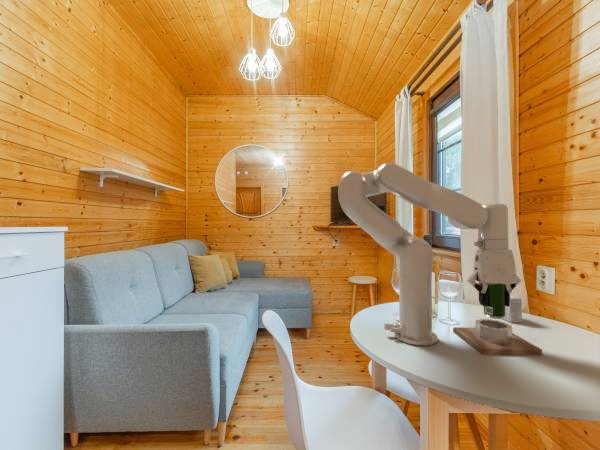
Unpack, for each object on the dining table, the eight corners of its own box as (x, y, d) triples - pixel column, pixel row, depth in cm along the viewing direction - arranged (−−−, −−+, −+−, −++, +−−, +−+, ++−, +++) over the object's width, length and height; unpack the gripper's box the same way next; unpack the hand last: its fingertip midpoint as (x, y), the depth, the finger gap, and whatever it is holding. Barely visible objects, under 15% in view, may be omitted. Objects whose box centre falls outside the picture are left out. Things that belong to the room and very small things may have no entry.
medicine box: (522, 322, 102) (522, 298, 102) (510, 323, 102) (510, 299, 102) (505, 315, 110) (505, 293, 110) (494, 315, 110) (494, 293, 110)
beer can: (500, 320, 82) (499, 278, 82) (480, 315, 87) (479, 276, 86) (508, 316, 85) (507, 276, 85) (488, 312, 90) (488, 274, 89)
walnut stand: (481, 354, 78) (481, 348, 78) (453, 331, 94) (453, 327, 94) (542, 355, 78) (542, 349, 77) (503, 332, 93) (503, 327, 93)
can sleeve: (486, 343, 82) (486, 329, 82) (469, 331, 91) (469, 319, 91) (519, 343, 81) (519, 330, 81) (499, 331, 90) (499, 319, 90)
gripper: (470, 246, 82) (471, 309, 82) (532, 245, 81) (533, 308, 82) (457, 244, 90) (458, 302, 90) (513, 243, 89) (514, 301, 89)
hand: (494, 304), depth 86 cm, fingers closed on beer can, 5 cm apart
